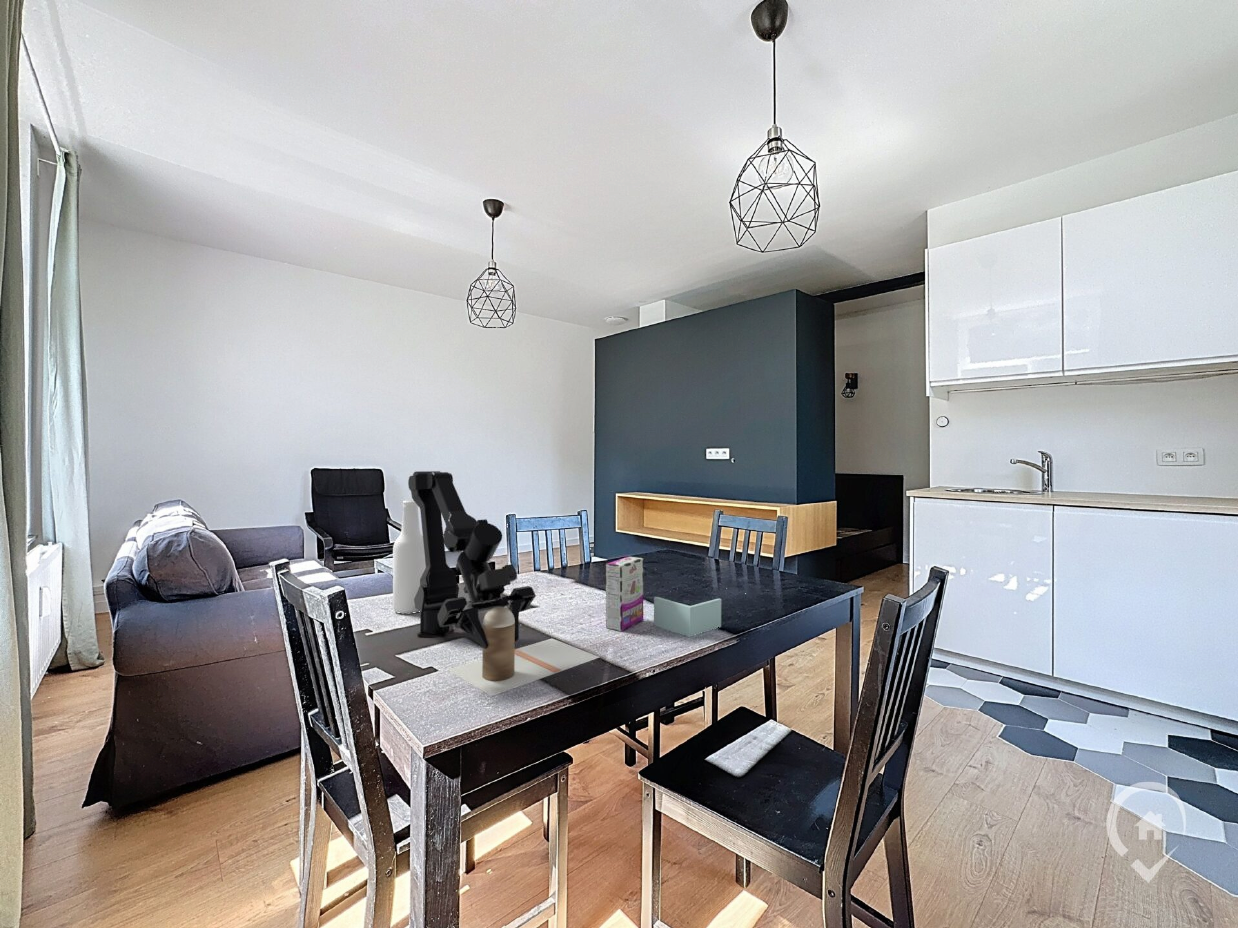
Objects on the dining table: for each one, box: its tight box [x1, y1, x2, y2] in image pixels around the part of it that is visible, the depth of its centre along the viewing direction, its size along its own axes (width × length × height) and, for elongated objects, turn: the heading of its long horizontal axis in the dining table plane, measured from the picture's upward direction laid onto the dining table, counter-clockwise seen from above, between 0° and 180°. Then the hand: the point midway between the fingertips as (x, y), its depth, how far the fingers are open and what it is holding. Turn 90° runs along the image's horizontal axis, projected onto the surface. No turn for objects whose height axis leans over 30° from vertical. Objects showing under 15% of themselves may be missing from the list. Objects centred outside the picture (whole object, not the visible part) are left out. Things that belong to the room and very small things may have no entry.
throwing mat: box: [446, 638, 601, 697], centre depth 109 cm, size 26×16×1 cm, turn 135°
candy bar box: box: [605, 556, 644, 632], centre depth 137 cm, size 11×5×16 cm, turn 148°
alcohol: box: [392, 499, 426, 613], centre depth 148 cm, size 9×9×30 cm
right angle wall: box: [653, 596, 722, 637], centre depth 137 cm, size 12×12×8 cm
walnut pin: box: [481, 607, 516, 681], centre depth 103 cm, size 6×6×13 cm
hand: (502, 643), depth 102 cm, fingers closed on walnut pin, 6 cm apart
